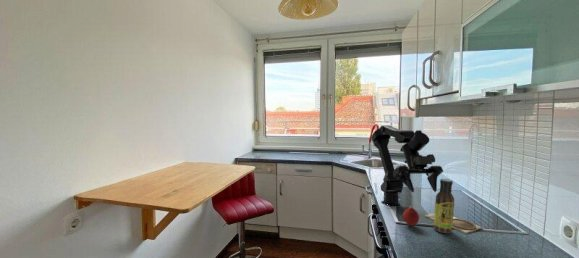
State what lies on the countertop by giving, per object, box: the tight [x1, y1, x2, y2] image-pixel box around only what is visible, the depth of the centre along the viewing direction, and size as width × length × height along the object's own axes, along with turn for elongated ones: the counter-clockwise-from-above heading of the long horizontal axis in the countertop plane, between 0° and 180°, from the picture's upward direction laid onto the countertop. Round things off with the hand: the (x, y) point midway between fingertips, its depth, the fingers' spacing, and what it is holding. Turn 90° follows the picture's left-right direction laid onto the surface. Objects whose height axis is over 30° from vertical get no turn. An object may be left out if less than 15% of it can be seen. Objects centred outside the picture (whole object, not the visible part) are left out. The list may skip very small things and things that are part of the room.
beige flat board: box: [424, 213, 483, 234], centre depth 106 cm, size 17×10×1 cm, turn 24°
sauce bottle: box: [433, 178, 455, 234], centre depth 97 cm, size 6×6×20 cm
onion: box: [402, 206, 420, 227], centre depth 102 cm, size 6×6×8 cm
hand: (424, 191), depth 100 cm, fingers open, 9 cm apart
